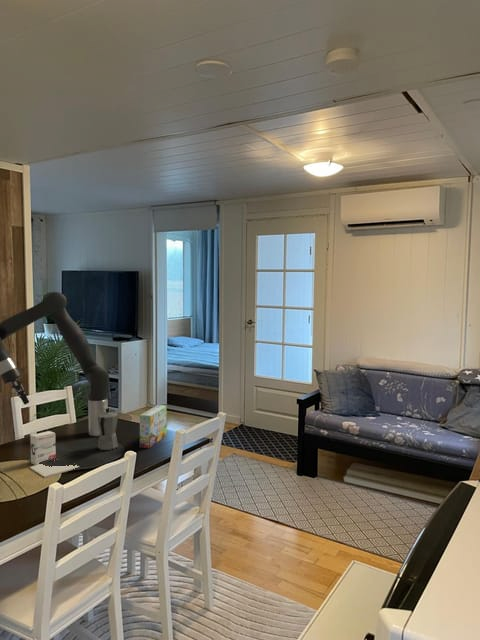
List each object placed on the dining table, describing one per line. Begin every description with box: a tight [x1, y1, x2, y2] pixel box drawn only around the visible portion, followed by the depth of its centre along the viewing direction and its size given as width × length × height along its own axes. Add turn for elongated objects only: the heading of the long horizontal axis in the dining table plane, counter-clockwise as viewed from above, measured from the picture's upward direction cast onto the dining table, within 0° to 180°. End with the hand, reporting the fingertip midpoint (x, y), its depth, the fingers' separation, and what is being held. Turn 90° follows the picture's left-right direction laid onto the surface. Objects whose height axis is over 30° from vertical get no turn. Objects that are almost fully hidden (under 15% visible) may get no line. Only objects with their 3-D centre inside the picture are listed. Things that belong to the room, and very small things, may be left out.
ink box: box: [30, 430, 57, 466], centre depth 193 cm, size 8×5×12 cm, turn 140°
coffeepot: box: [97, 408, 119, 449], centre depth 209 cm, size 15×9×18 cm, turn 179°
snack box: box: [139, 404, 168, 449], centre depth 220 cm, size 21×6×15 cm, turn 168°
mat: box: [29, 464, 80, 478], centre depth 186 cm, size 14×14×1 cm
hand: (26, 403), depth 202 cm, fingers open, 8 cm apart
